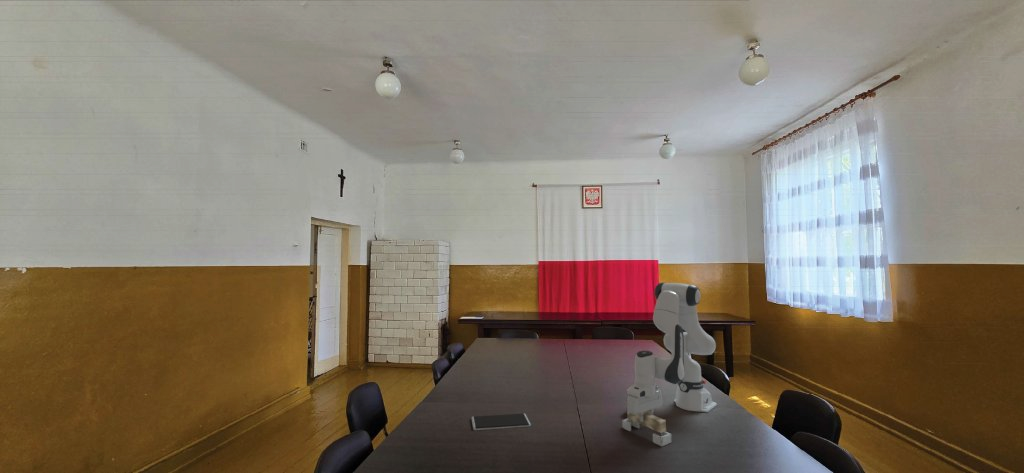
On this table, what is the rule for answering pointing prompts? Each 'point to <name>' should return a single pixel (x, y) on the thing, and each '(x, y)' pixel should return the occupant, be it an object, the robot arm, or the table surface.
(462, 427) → the table surface
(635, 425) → the cap
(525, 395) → the table surface
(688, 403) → the robot arm
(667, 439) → the cap
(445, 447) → the table surface
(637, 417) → the tan wooden beam
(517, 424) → the smartphone
